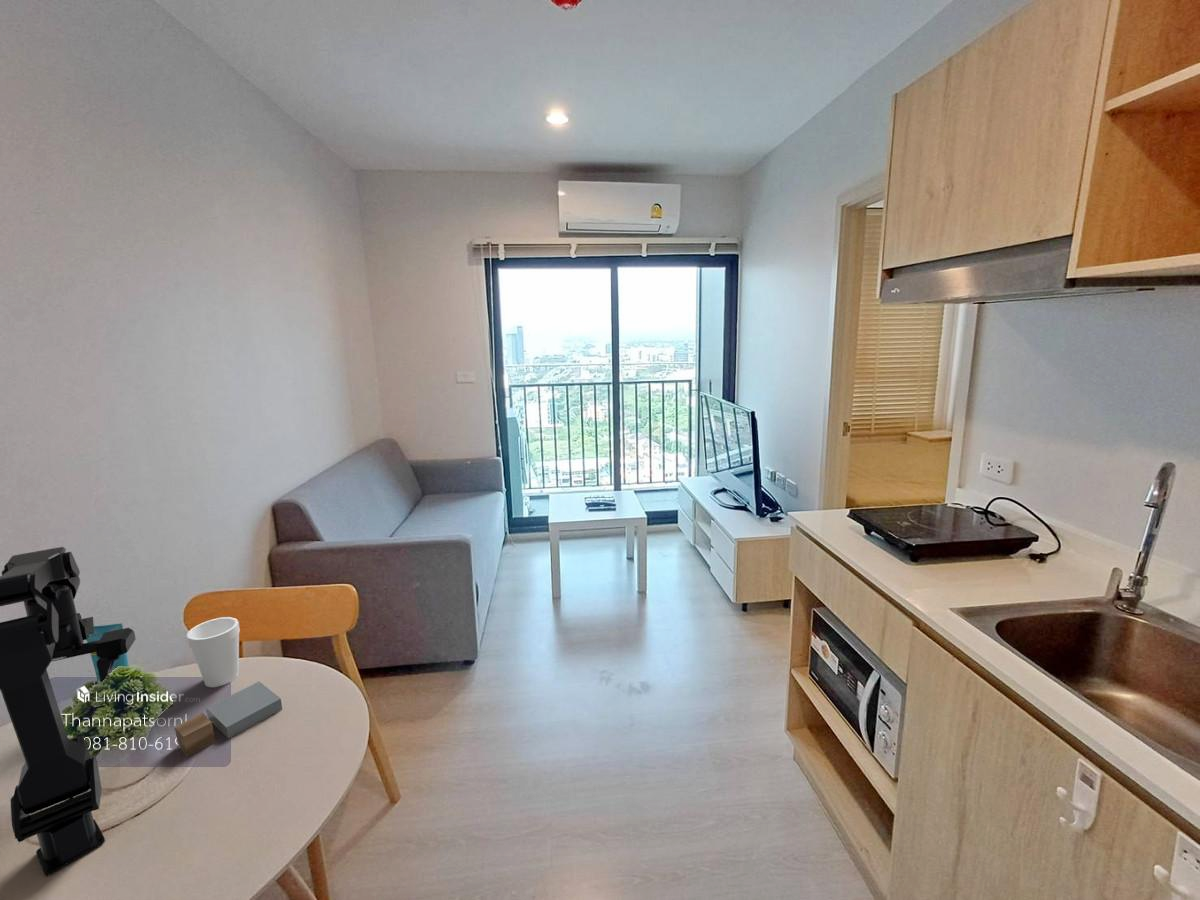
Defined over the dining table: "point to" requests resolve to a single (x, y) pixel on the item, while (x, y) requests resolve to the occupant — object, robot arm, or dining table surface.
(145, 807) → the dining table surface
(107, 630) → the tube
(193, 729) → the walnut cube
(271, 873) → the dining table surface
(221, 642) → the foam cup
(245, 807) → the dining table surface
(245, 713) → the block
